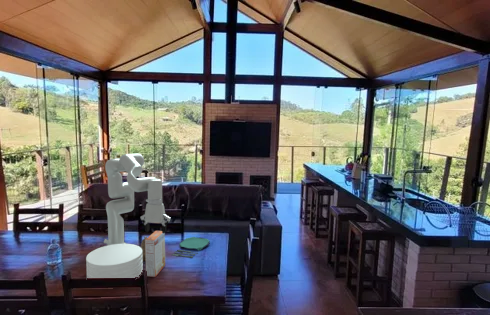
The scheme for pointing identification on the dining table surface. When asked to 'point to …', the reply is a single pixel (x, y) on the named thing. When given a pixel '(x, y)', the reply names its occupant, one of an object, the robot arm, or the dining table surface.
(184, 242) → the cutlery set
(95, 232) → the dining table surface
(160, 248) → the cracker box
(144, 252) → the walnut pepper mill
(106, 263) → the plate stack
